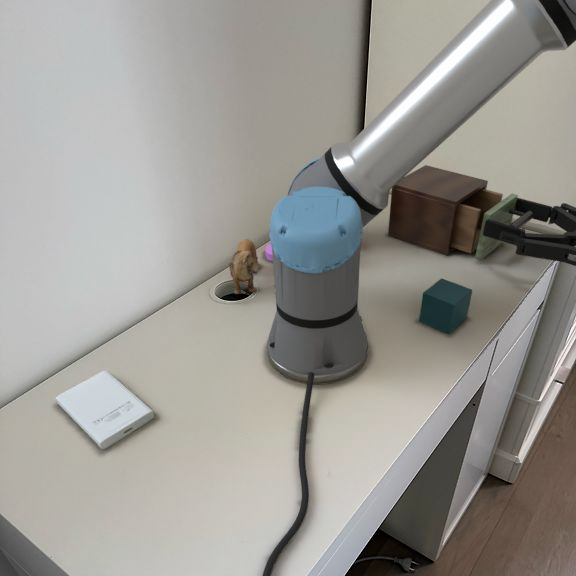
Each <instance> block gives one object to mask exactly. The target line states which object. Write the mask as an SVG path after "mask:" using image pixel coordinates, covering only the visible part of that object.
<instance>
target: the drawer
mask: <svg viewBox="0 0 576 576" xmlns="http://www.w3.org/2000/svg"><path fill="white" fill-rule="evenodd" d="M518 196H519V194H516V193H510V194H509V195H508V196H506V197H505V198H503V197H504V193H501V192H498V191H493V190H491V189H490V190H489V189H487V188H486V189H480V190H479V191H477V192H476V193H474V194H473V195H471V196H470V197H468V198H467V199H465V200H464V201H462V202H461V203H459V204H458V206H457V211H456V217H455V223H454V229H453V235H452V241H451V247H453V248H456V249H455V250H459V251H461V252H465V253H467V254H472V253H473V252H474V251H476V252H475V256H474V259H475V260H478V261H482V260H483V259H485V258H486V257H487V256H488V255H490V254H491V253H492V252H493V251H494V250H496V249H497V248H498V247H499V246H501V245H502V244H503V243H504V242H503V241H500V240H496V239H493V238H490V237H487V236H483V232H484V227H485V222H486V220H492V221H495V222H499V223H502V224H506V225H509V226H513V227H516V228H520V229H522V227H524V226H525V225H526V224H527V223H529V222H530V221H531V220H533V219H532V218H533V217H534V214H533V212H531V211H527V212H526V213H523V212H520V211H516V210H514V209H515V205H516V201H517V198H519V197H518ZM514 216H518V218H517V219H515V220H514V221H513V217H514Z"/></svg>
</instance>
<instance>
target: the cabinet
mask: <svg viewBox="0 0 576 576" xmlns="http://www.w3.org/2000/svg"><path fill="white" fill-rule="evenodd" d="M488 183H489V180H487V179H483V178H479V177H476V176H475V177H474V176H471V175H467V174H463V173H459V172H455V171H450V170H448V169H447V170H446V169H444V168H439V167H435V166H431V165H427V164H425V165H423V166H421V167H419V168H418V169H416V170H414V171H413V172H412V171H411V172H410V173H408V174H407V175H406V176H405V177H404V178H402V179H401V180H400V181H399V182H398V183H397V184H396V185H395V186H394V187H392V188H391V195H390V206H389V207H390V208H389V219H388V229H387V230H388V231H387V235H388V236H389V237H393V238H395V239H398V240H401V241H404V242H407V243H410V244H413V245H416V246H418V247H421V248H424V249H427V250H430V251H432V252H436V253H438V254H441V255H445V256H449V255H450V254H451V253H453V252H454V251H455V250H457V249H456V248H453V247H451V241H452V235H453V229H454V223H455V217H456V211H457V206H458V204H459V203H461V202H462V201H464V200H465V199H467V198H468V197H470V196H471V195H473V194H474V193H476V192H477V191H479V190H480V189H486V190H487V187H488Z"/></svg>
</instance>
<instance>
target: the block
mask: <svg viewBox="0 0 576 576" xmlns="http://www.w3.org/2000/svg"><path fill="white" fill-rule="evenodd" d="M472 294H473V289H472V288H469V287H466V286H464V285H461V284H459V283H455V282H452V281H450V280H448V279H445V278H442V277H441V278H440V279H439V280H437V281H436V282H435V283H433V284H432V285H431V286H430V287H429V288H427V289H426V290H425V291H423V292H422V297H421V304H420V310H419V318H418V322H419V323H422V324H424V325H426V326H428V327H430V328H433V329H435V330H437V331H440V332H442V333H444V334H447V335H450V334H451V333H452V332H453V331H455V330H456V329H457V328H458V327H459V326H460V325H461V324H462V323H463V322H465V321H466V320H467V317H468V314H469V313H468V312H469V309H470V303H471V299H472Z"/></svg>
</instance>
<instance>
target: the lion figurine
mask: <svg viewBox="0 0 576 576" xmlns="http://www.w3.org/2000/svg"><path fill="white" fill-rule="evenodd" d="M258 259H259V257H258V256H257V249H256V245H255V243H254V242H253V241H252V240H250V239H248V238H245V239H243V240H241V241H239V242H238V244H237V250H236V252H234V253H233V254H232V256H231V259H230V261H229V264H228V265H229V273H230V276H231V277H232V281H233V285H234V288H235V289H234V291H233V293H234V294H235V295H240V294H241V293H242V288H241V285H240V283H247V290H248V292H250V293H253V292H255V291H256V290H257V289H256V287H255V286H254V275H256V276H257V275H258V273H259V270H260V268H261V267H262V265H261V264H260V263H259V261H258Z"/></svg>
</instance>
